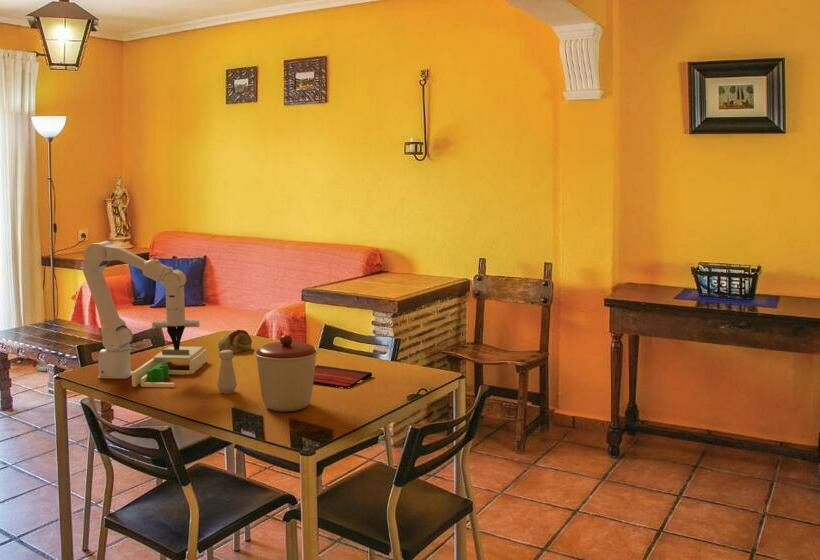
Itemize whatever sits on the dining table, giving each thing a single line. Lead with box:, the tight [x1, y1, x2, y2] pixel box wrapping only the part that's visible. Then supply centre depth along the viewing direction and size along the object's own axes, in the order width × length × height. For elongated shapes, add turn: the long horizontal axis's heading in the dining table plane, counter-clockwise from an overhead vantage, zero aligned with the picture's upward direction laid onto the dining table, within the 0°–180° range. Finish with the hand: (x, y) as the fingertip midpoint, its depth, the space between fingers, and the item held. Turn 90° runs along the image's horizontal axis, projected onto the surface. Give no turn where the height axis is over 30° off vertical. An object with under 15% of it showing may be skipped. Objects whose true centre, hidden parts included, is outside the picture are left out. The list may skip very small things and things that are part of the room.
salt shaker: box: [217, 350, 237, 395], centre depth 238 cm, size 6×6×13 cm
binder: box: [313, 364, 373, 389], centre depth 255 cm, size 16×2×21 cm
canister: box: [253, 334, 319, 413], centre depth 224 cm, size 18×18×21 cm
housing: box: [131, 349, 207, 388], centre depth 259 cm, size 14×32×4 cm, turn 178°
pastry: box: [217, 329, 253, 354], centre depth 294 cm, size 14×12×8 cm
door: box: [152, 345, 204, 361], centre depth 266 cm, size 12×16×2 cm
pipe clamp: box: [147, 362, 170, 383], centre depth 252 cm, size 11×4×5 cm, turn 175°
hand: (176, 349), depth 254 cm, fingers closed
